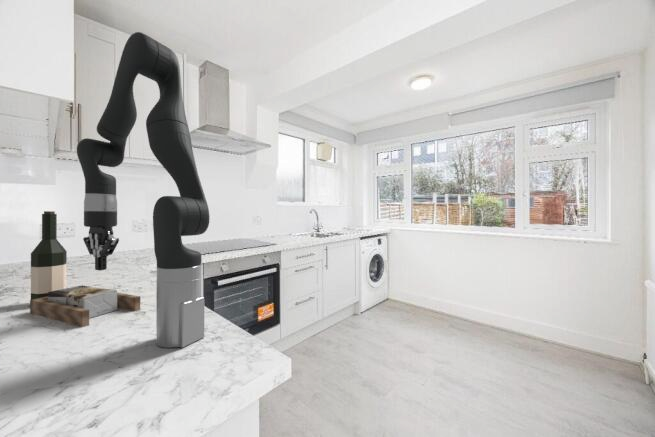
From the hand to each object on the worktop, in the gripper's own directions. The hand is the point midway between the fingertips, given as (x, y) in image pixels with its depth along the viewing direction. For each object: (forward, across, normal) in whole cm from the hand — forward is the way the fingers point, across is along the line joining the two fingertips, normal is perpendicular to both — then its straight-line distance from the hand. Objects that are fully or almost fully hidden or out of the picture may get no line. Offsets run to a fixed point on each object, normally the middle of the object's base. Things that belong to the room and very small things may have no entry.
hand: (100, 269), depth 81 cm
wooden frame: (+13, +6, 0) cm, 14 cm away
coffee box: (+10, -1, 0) cm, 10 cm away
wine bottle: (+13, +27, 0) cm, 30 cm away
